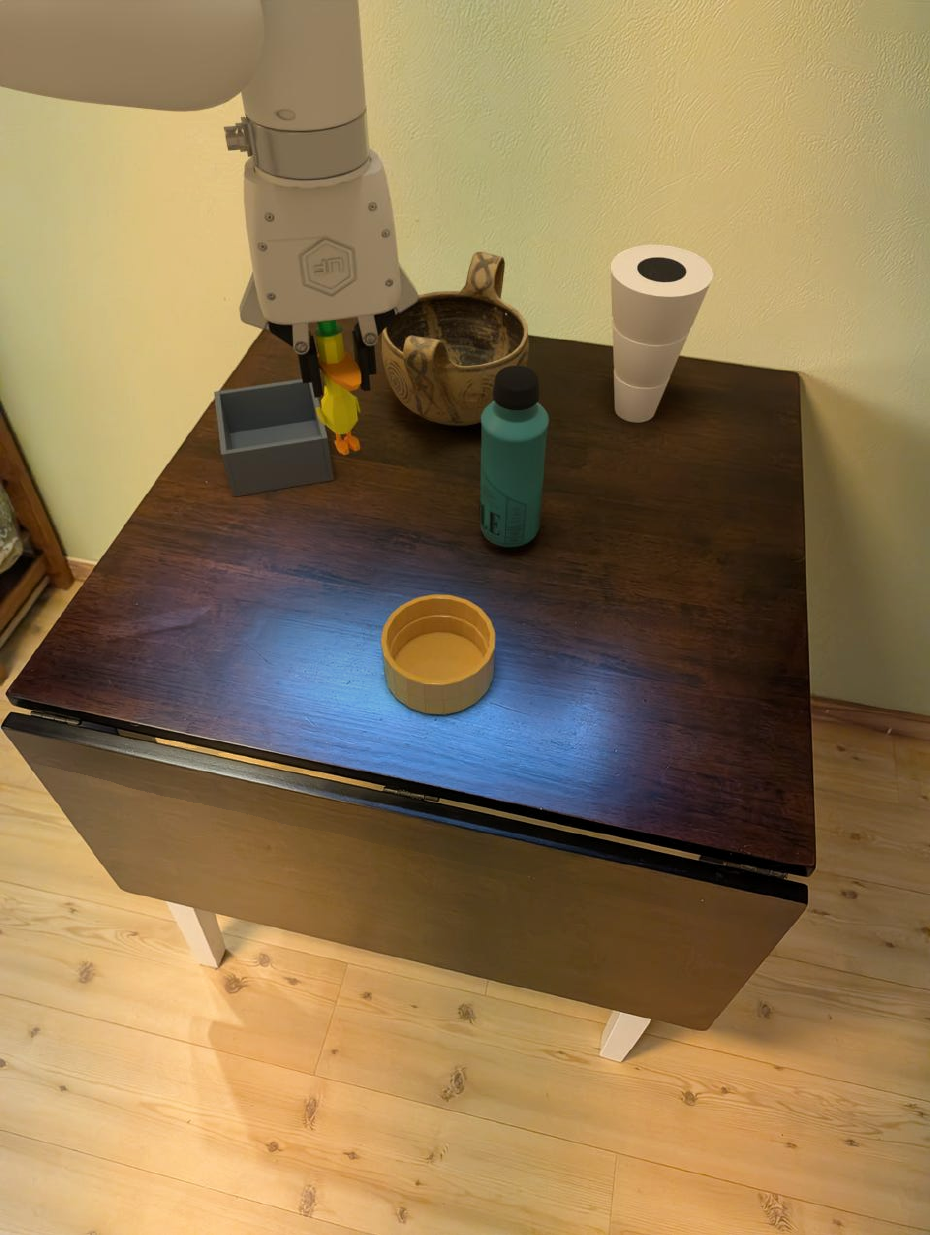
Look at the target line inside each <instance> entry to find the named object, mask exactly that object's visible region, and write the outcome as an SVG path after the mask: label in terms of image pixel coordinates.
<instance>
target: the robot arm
mask: <svg viewBox="0 0 930 1235" xmlns="http://www.w3.org/2000/svg"><path fill="white" fill-rule="evenodd" d="M359 3H360V2H359V0H0V87H2V88H4V89H10V90H13V91H18V92H23V93H27V94H32V95H35V96H36V95H37V96H42V97H47V98H53V99H59V100H62V101H63V100H64V101H69V102H78V103H85V104H92V105H93V104H95V105H103V106H115V107H122V108H123V107H124V108H133V109H143V110H153V111H163V112H179V113H180V112H184V113H185V112H198V111H203V110H208V109H214V108H217V107H219V106H221V105H224V104H226V103H228V102H229V101H232V99H234V98H235V97H236V96H239V94H241V99H242V106H243V110H244V114H245V115H244V116H241V117H240V121H241V122H235V123H234V124H235V125H229V126H228V125H227V126H223V131H224V137H225V142H226V147H227V151H240V153H246V154H247V158H248V159H247V160H246V162H245V164H244V170H243V203H244V204H243V205H244V214H245V215H244V216H245V226H246V234H247V241H248V248H249V255H250V262H251V267H252V268H251V270H252V272H251V275H250V277H249V280H248V283H247V286H246V288H245V292H244V294H243V296H242V299H241V302H240V305H239V307H238V312H239V317H240V321H241V322H242V323H244V324H245V325H249V326H251V327H255V328H257V329H260V330H264V331H265V330H266V331H269V332H270V333H271V334H272V335H274V337H277V338H278V339H279V340H281V341H283V342H284V343H286V344H287V345H288V346H290V347H292V349H293V351H294V353H296V354H297V358H298V363H299V369H300V375H301V379H302V381H303V384H304V383H312V388H313V393H314V398H318V399H319V398H322V396H324V390H323V383H322V377H321V376H322V375H321V369H320V368H319V362H318V355H317V354H318V350H317V345H316V343H315V338H314V335H312V334H311V331H310V324H311V323H313V324H314V323H317V322H321V321H330V320H336V321H337V320H345V319H353V318H356V321H357V322H356V323H355V325H354V326H353V330H351V336H352V346H353V354H354V360H355V362H356V363H357V365H358V366H359V369H360V372H361V384H360V386H359V388H360V390H363V392H369V391H371V381H370V380H371V379H370V376H372V375H377V373H378V372H377V360H376V350H375V349H376V348H375V345H376V344H378V342H379V336H380V335H382V331H383V330H384V329H385V328H386V327H387V326H388V325H389V324H390V322H391V321H392V320H393V319H394V318H395V315H397V314H398V313H401V312H403V311H404V310H406V309H408V308H409V307H411V306H412V305H414V304H415V303H416V302H418V300H419V296H418V295H419V293H418V290H417V288H416V286H415V284H414V282H413V281H412V280H411V278H410V277H409V275H408V274H407V272H406V270H405V269H404V267H403V266H402V264H401V263H400V260H399V251H398V242H397V233H396V224H395V218H394V211H393V204H392V198H391V192H390V189H389V182H388V178H387V175H386V171H385V167H384V165H383V161H382V159H381V158H380V157H379V155H378V153H377V152H376V151H375V150H373V149H372V148H370V138H369V124H368V123H369V122H368V111H367V102H366V101H367V100H366V88H365V74H364V73H365V72H364V60H363V47H362V32H361V19H360V6H359V5H360V4H359Z"/></svg>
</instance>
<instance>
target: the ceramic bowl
mask: <svg viewBox="0 0 930 1235" xmlns="http://www.w3.org/2000/svg"><path fill="white" fill-rule="evenodd" d="M505 267H506V263H505V258H504V256H500V255H496V254H494V253H493V254H492V253H489V252H486V251H485V252H484V251H475V252H474V253H473V255H472V257H471V260H470V263H469V266H468V271H467V275H466V279H465V285H463V287H462V288H461V290H447V291H446V290H444V291H443V290H441V291H432V292H427V293H423V294H418V296H419V300H418V302H416V303H415V304H414V305H412V306H411V307H409V308H408V309H406V310H404V311H403V312H401V313H398V314H397V315H395V318H394V319H393V320H392V321H391V322H390V324H389V325H388V326H387V327H386V328H385V329H384V330H383V331H382V332H381V357H382V363H383V367H384V372H385V375H386V378H387V380H388V383H389V386H390V388H391V390H392V391H393V393H394V395H395V396H396V397H397V399H398V400H399V401H400V402H401V404H403V406H405V407H406V408H407V409H408V410H410V412H412V413H414V414H416V415H418V416H419V417H421V418H423V419H424V420H427V421H429V422H432V423H435V424H440V425H444V426H450V427H467V426H473V425H477V424H481V415H482V413H483V410H484V409H485V408H486V407H487V406H488V405H489V404H490V403H491V402H493V401H494V399H493V388H494V381H495V376H496V374H497V373H498V372H499V371H500V370H501V369H503V368H505V367H509V366H524V367H527V368H528V362H529V355H530V354H529V353H530V351H529V350H530V341H529V328H528V323H527V321H526V319H525V317H524V316H523V315H522V314H521V312H520V311H518V310H517V309H516V308H515V307H514V306H512V305H511V304H508V303H507V302H504V301H503V300H502V294H503V284H504V275H505V269H506V268H505Z"/></svg>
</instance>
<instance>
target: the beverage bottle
mask: <svg viewBox="0 0 930 1235" xmlns="http://www.w3.org/2000/svg"><path fill="white" fill-rule="evenodd" d="M493 399H494V401H493V402H491V403H490V404H489V405H488V406H487V407H486V408H485V409H484V410H483V413H482V415H481V423H480V424H481V439H480V447H479V457H480V460H479V462H478V464H479V465H480V484H479V486H480V487H479V506H478V524H479V529H480V531H481V533H482V534H483V536H484V537H485V538H486V539H487V541H489V542H490V543H492V544H494V545H497V546H499V547H504V548H517V547H521V546H524V545H527V544H528V543H531V541H533V540H534V538H535V537H536V536H537V533H539V531H540V530H541V528H540V526H541V525H542V523H541V520H542V514H543V506H544V504H543V503H544V501H543V498H544V491H545V490H544V489H545V486H544V482H545V480H546V479H544V478H545V470H546V469H545V459H546V447H547V438H548V428H549V425H550V424H549V423H550V417H549V414H548V411H547V410H546V408H545V407H544V406H542V404H541V403H540V402H539V399H540V380H539V376H538V374H537V373H536V371H534V370H533V369H531V368H529V367H528V366H527V367H524V366H509V367H505V368H503V369H501V370H500V371H499V372H498V373H497V374H496V376H495V381H494V388H493Z"/></svg>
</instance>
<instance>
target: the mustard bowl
mask: <svg viewBox="0 0 930 1235" xmlns="http://www.w3.org/2000/svg"><path fill="white" fill-rule="evenodd" d="M380 646H381V656H382V661H383V663H382V664H383V670H384V671H383V672H384V676H385V681H386V684H387V687H388V689H389V690H390V692H391V693H392V694H393V696H394V697H395V699H397V700H398V701H399V702H401V703H402V704H404V705H405V706H406V707H408V709H411V710H414V711H417V712H419V713H422V714H423V713H424V714H427V715H449V714H453V713H458V712H462V711H464V710H466V709H467V708H469V707H471V706H473V705H475V704H476V703H478V702H479V701H480V699H482V697H483V696H484V695H485V694H487V692H488V691H489V689H490V686H491V684H492V682H493V680H494V673H495V672H494V670H495V655H496V654H495V652H496V631H495V628H494V625H493V622H492V620H491V618H490V617H489V616H488V615H487V613H486V612H485V611H484V610H483V609H482V608H481V607H479V606H478V605H476V604H475V603H473V602H471V600H468V599H466V598H462V597H460V596H456V595H453V594H440V593H439V594H437V593H435V594H434V593H433V594H429V595H423V596H418V597H415V598H413V599H411V600H408V601H407V602H404V603H403V604H401V605H400V606H399V607H398V608H396V609H395V610H394V611H393V612H392V613H391V614H390V615H389V616H388V618H387V619H386V622H385V624H384V625H383V627H382V631H381V638H380Z"/></svg>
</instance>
